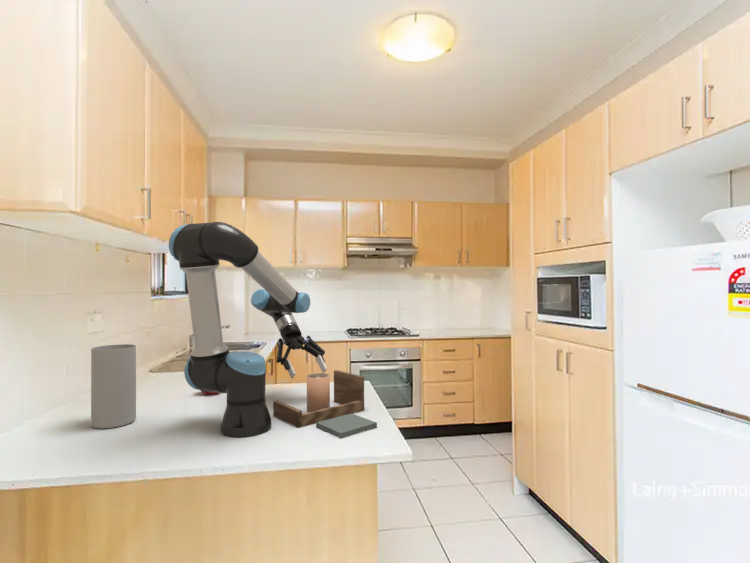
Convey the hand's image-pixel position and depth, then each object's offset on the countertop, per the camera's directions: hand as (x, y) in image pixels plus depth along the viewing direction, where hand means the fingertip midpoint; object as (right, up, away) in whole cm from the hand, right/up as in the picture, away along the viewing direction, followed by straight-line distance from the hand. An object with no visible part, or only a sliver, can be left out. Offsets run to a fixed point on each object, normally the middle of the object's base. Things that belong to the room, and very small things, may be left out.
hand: (309, 373), depth 153 cm
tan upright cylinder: (+4, -12, -7) cm, 15 cm away
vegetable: (-45, -13, +21) cm, 51 cm away
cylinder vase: (-62, -13, -16) cm, 65 cm away
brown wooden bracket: (+4, -12, -7) cm, 15 cm away
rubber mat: (+15, -12, -22) cm, 30 cm away
